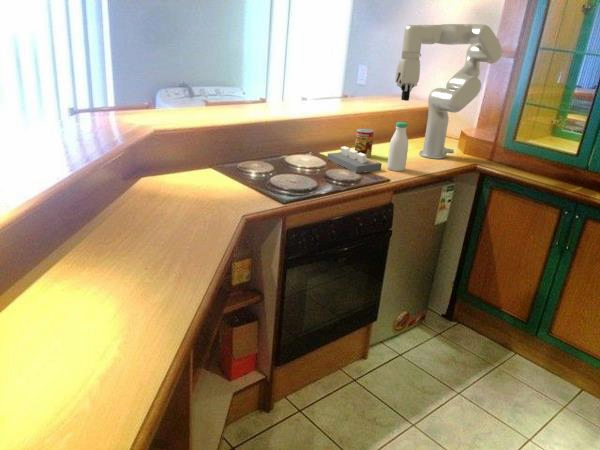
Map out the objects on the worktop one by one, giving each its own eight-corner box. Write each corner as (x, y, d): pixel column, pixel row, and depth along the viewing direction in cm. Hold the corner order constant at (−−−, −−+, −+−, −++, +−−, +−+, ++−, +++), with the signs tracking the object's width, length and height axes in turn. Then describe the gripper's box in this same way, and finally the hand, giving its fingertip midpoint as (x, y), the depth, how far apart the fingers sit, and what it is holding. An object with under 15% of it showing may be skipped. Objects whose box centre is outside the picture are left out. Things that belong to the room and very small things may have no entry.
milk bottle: (404, 172, 206) (411, 125, 199) (386, 170, 208) (392, 123, 200) (405, 167, 213) (411, 121, 206) (387, 166, 215) (392, 120, 207)
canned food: (350, 155, 229) (353, 129, 225) (360, 152, 235) (363, 127, 230) (364, 158, 224) (367, 132, 220) (374, 156, 230) (377, 130, 225)
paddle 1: (345, 152, 219) (344, 146, 217) (350, 154, 216) (349, 148, 214) (341, 154, 218) (340, 147, 216) (346, 156, 215) (345, 149, 213)
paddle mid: (353, 155, 214) (352, 149, 212) (358, 158, 211) (357, 151, 209) (349, 157, 213) (348, 150, 212) (354, 159, 210) (353, 152, 209)
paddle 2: (361, 159, 209) (360, 152, 208) (366, 161, 206) (366, 154, 205) (357, 160, 209) (356, 153, 207) (363, 163, 205) (362, 156, 204)
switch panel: (350, 157, 225) (351, 150, 224) (380, 170, 208) (381, 163, 207) (327, 160, 219) (327, 153, 218) (356, 173, 202) (356, 165, 200)
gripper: (417, 55, 214) (412, 98, 221) (391, 55, 207) (386, 99, 214) (429, 57, 208) (423, 100, 216) (403, 56, 201) (397, 102, 208)
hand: (405, 100), depth 215 cm, fingers closed
